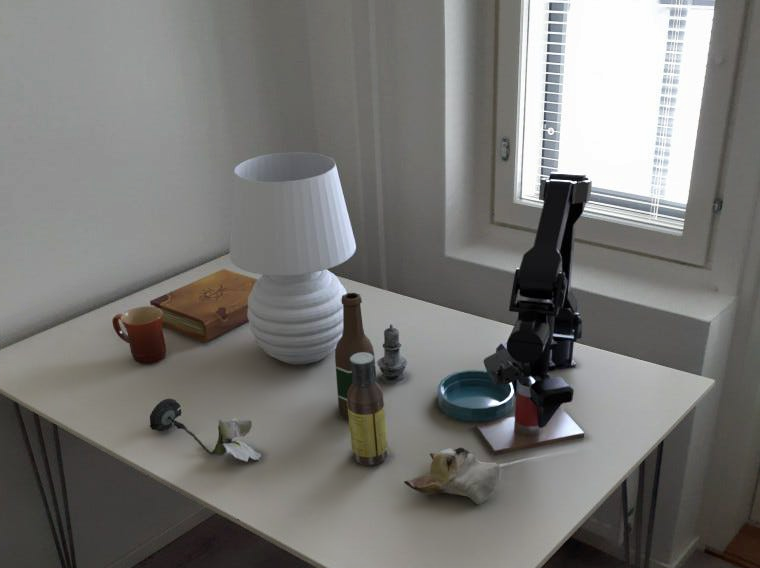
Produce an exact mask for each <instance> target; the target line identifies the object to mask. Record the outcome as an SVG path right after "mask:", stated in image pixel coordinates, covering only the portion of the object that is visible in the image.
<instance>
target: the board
mask: <svg viewBox="0 0 760 568" xmlns="http://www.w3.org/2000/svg"><path fill="white" fill-rule="evenodd" d="M514 424H515V416H511V417H504V418H498V419H495V420H490V421H484V422H477V423H475V424H474V429H475V431H476V432H477V433H478V436H480V437H481V439H482V440H483V441H484V443H485V444H486V446H487V447H488V449H489V450H490V452H491V453H492V454H493V456H498V455H503V454H504V455H505V454H508V453H513V452H517V451H523V450H528V449H533V448H538V447H542V446H547V445H553V444H557V443H562V442H567V441H573V440H577V439H582V438H585V431H584V430H582V428H581V427H580V426H579V425H578V423H576V422H575V420H573V418H572V417H571V416H570V415H569V414H568V413H567V412H566V411H565V409H563V407H559V408H558V409H557V411H556V412H555V413H554V415H553V416H552V418H551V419H550V420H549V422H548V423H547V425H546V426H545V427H544V431H543V432H542V433H541V434H539V435H536V436H525V435H521V434H519V433H518V432H516V431H515V429H514Z"/></svg>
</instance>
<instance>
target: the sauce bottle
mask: <svg viewBox="0 0 760 568" xmlns="http://www.w3.org/2000/svg"><path fill="white" fill-rule="evenodd" d="M374 357H375V355H374V356H373V355H372V354H370V353H366V352H361V353H356V354H354V355H352V356H351V357H350V367H351V369H352V384H351V386H350V388H349V390H348V393H347V399H348V401H347V405H348V415H349V420H348V425H349V436H350V444H351V451H352V457H353V459H354V461H355V462H357V463H358V464H360V465H362V466H367V467H370V466H375V465H380V464H381V463H383V462H384V461H385V460H386V458H387V456H388V438H387V437H388V436H387V424H386V423H387V422H386V409H385V402H384V392H383V390H382V387H381V386H380V385H379V384H378V382H377V380H376V381H375V375H374V365H375V366H376V361H375V362H374Z"/></svg>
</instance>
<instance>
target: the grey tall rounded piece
mask: <svg viewBox="0 0 760 568" xmlns="http://www.w3.org/2000/svg"><path fill="white" fill-rule="evenodd" d="M383 338H384V339H383V340H384V342H383V344H382V348H383V351H384V354H383V356H382V357H381V358H379V359H378V361H377V366H378V368H379V370H380V372H381V373H382V374H381V380H382V381H383V382H385V383H389V384H390V383H391V384H392V383H398V382H401V381H403V380H404V379H405V374H404V371H405V369H406V366H407V365H408V360H407V359H406V358H405V357H404V356H401V352H400V351H401V350H400V349H401V347H402V344H401V343H400V333H399V330H398V329H397V328H396V327H394V325H392V324H390V325H389V326H388V328H385V329H384V332H383Z"/></svg>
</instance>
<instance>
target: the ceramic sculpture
mask: <svg viewBox="0 0 760 568" xmlns="http://www.w3.org/2000/svg"><path fill="white" fill-rule="evenodd" d="M429 456H430V458H431V460H432V461H431V463H430V472H429V474H425V475H419V476H417V477H416V478H414V479H411V480H410V479H409V480H403V483H404V485H406V486H408V487H409V488H411V489H412V490H413V491H416V492H418V493H422V494H424V495H432V494H433V495H434V494H442V493H446V494H449V495H450V494H451V495H458V496H463V497H468V498H470V499H471V500H472V501H473V502H474V503H475V504H477V505H481V504H483V503H485V502H487V501H489V500H490V499H491V498H492V496H493V494H494V492H495V490H496V488H497V487H498V485H499V484H500V479H501V470H502V467H501V466H500V465H498V464H497V463H496V462H485V461H479V459H477V458H476V457H475V455H474V454H473V453H472V451H471V450H470V449H466V448H463V447H457V448H453V447H448V448H445V449H443V450H441V451H439V452H438V453H433V452H430V453H429Z"/></svg>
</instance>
